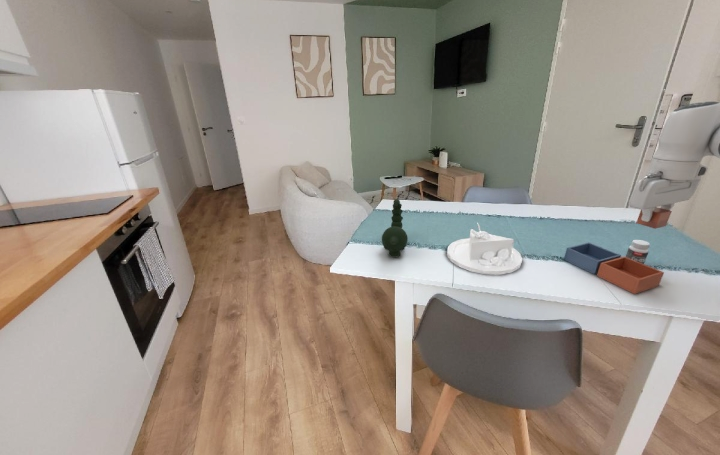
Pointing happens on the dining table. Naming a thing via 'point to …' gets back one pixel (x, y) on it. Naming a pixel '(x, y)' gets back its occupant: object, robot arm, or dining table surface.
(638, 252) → the pill bottle
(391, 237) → the green topiary ornament
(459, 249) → the dish
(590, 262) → the blue bin
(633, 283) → the terracotta bin
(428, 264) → the dining table surface
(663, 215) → the block
